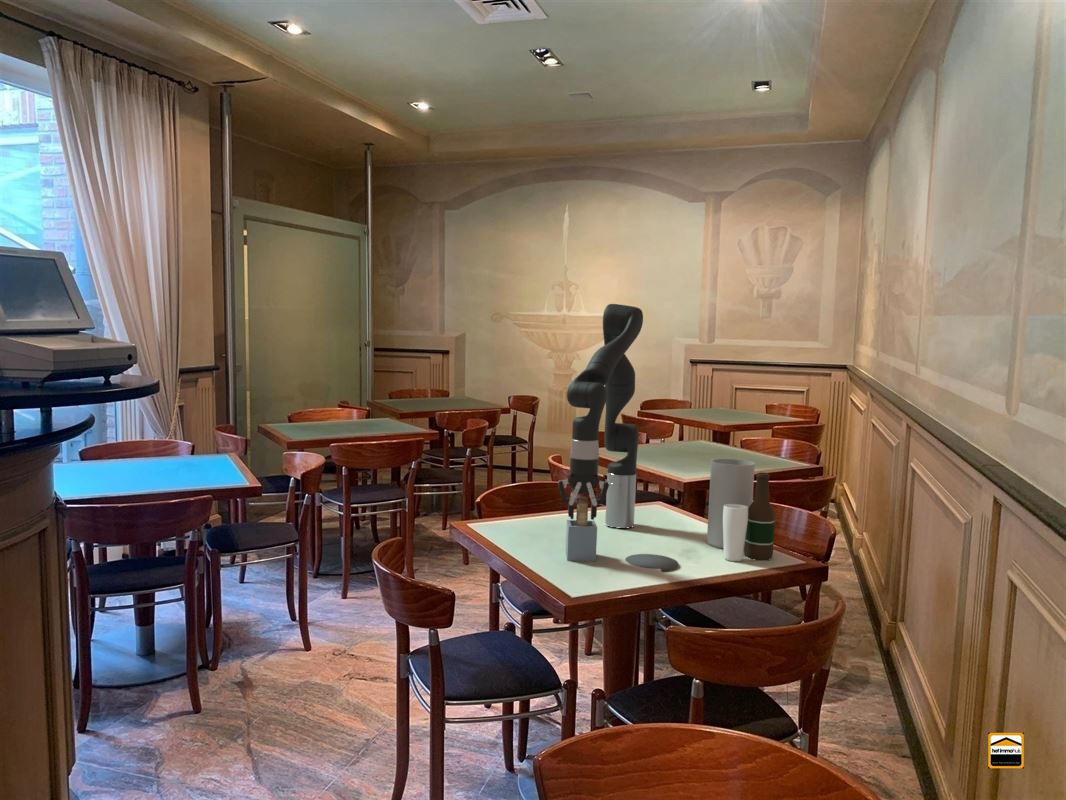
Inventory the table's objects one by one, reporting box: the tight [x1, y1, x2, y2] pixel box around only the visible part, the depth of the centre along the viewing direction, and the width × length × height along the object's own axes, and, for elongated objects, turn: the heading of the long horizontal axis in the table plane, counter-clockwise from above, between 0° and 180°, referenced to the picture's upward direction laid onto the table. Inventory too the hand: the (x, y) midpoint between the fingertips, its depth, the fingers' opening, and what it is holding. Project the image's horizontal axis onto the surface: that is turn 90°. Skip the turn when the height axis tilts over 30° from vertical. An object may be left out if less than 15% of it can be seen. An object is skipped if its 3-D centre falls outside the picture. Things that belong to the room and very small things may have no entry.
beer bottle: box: [743, 472, 776, 561], centre depth 219 cm, size 8×8×24 cm
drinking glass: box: [723, 504, 748, 562], centre depth 216 cm, size 7×7×15 cm
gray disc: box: [625, 553, 679, 572], centre depth 209 cm, size 14×14×1 cm
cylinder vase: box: [706, 458, 755, 550], centre depth 232 cm, size 12×12×25 cm
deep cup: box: [565, 519, 598, 562], centre depth 210 cm, size 8×8×10 cm
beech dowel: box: [575, 497, 590, 526], centre depth 210 cm, size 3×3×16 cm
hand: (581, 518), depth 210 cm, fingers open, 5 cm apart
